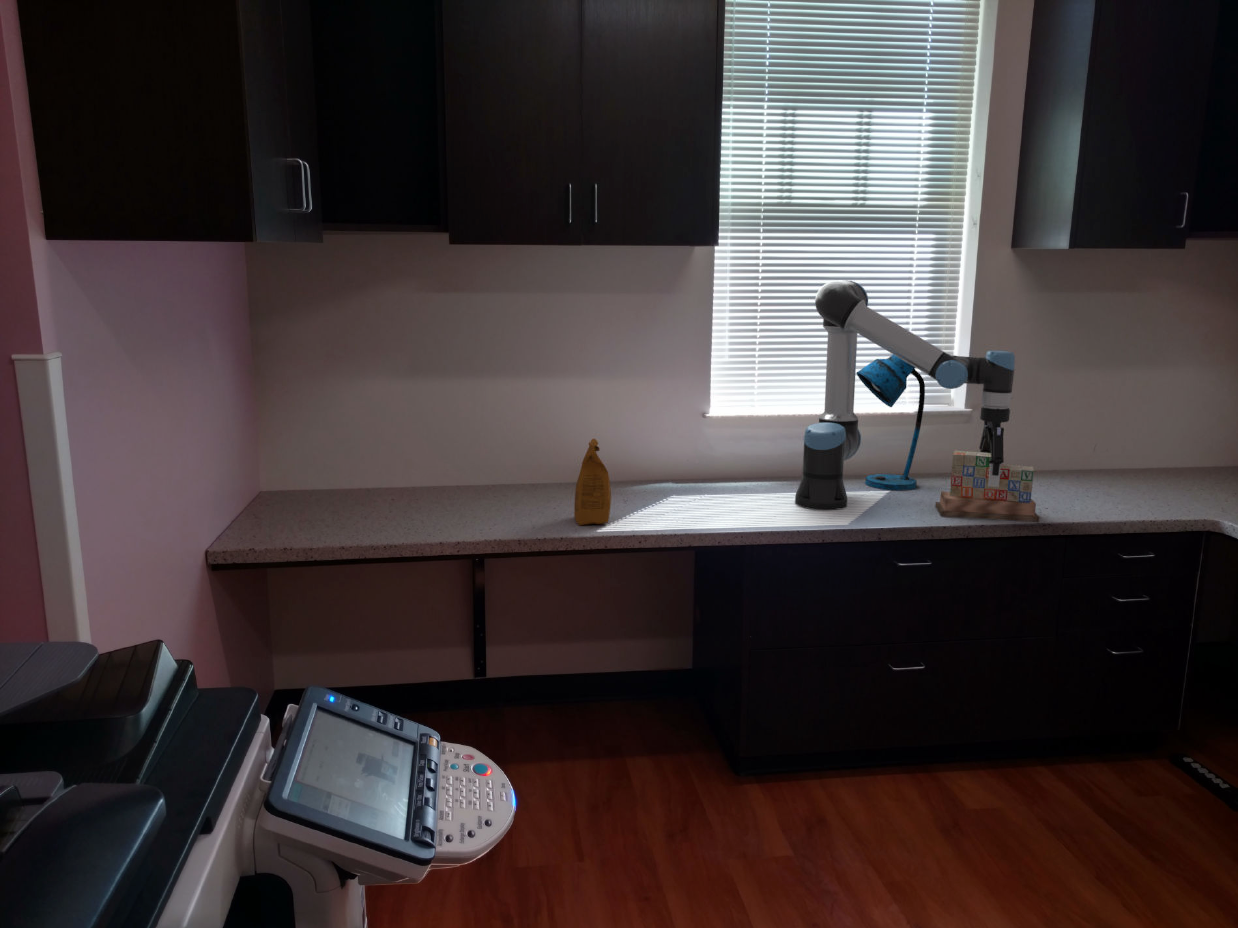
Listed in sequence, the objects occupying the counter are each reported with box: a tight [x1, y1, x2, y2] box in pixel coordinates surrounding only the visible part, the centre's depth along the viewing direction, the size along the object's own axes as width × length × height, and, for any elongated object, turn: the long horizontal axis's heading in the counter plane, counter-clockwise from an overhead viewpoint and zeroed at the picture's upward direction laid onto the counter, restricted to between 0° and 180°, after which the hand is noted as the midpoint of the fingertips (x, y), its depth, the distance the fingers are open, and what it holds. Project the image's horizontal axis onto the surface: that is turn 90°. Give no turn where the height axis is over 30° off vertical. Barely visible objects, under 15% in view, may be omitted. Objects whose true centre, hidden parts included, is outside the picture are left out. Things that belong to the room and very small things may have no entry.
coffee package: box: [573, 437, 612, 526], centre depth 252 cm, size 10×12×22 cm
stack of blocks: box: [949, 450, 1035, 503], centre depth 264 cm, size 21×6×12 cm, turn 67°
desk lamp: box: [856, 354, 926, 491], centre depth 297 cm, size 16×22×45 cm
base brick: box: [934, 490, 1040, 523], centre depth 266 cm, size 26×11×5 cm, turn 80°
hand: (988, 481), depth 264 cm, fingers open, 13 cm apart
